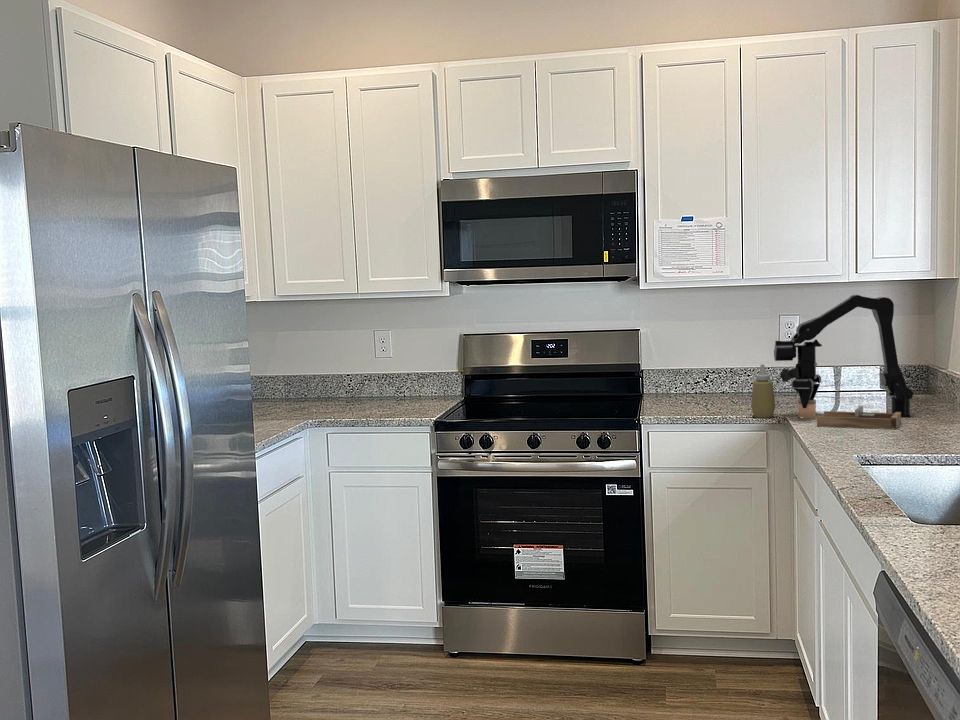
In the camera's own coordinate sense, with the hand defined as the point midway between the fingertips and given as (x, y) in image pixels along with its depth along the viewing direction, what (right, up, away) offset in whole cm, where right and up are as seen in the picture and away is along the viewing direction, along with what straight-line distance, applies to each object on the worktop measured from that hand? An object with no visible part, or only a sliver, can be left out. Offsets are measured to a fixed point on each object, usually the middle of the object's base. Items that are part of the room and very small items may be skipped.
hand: (807, 406), depth 316 cm
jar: (0, -4, 0) cm, 4 cm away
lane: (+10, -5, -19) cm, 22 cm away
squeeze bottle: (-13, -4, +5) cm, 15 cm away
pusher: (+12, -4, -20) cm, 23 cm away
